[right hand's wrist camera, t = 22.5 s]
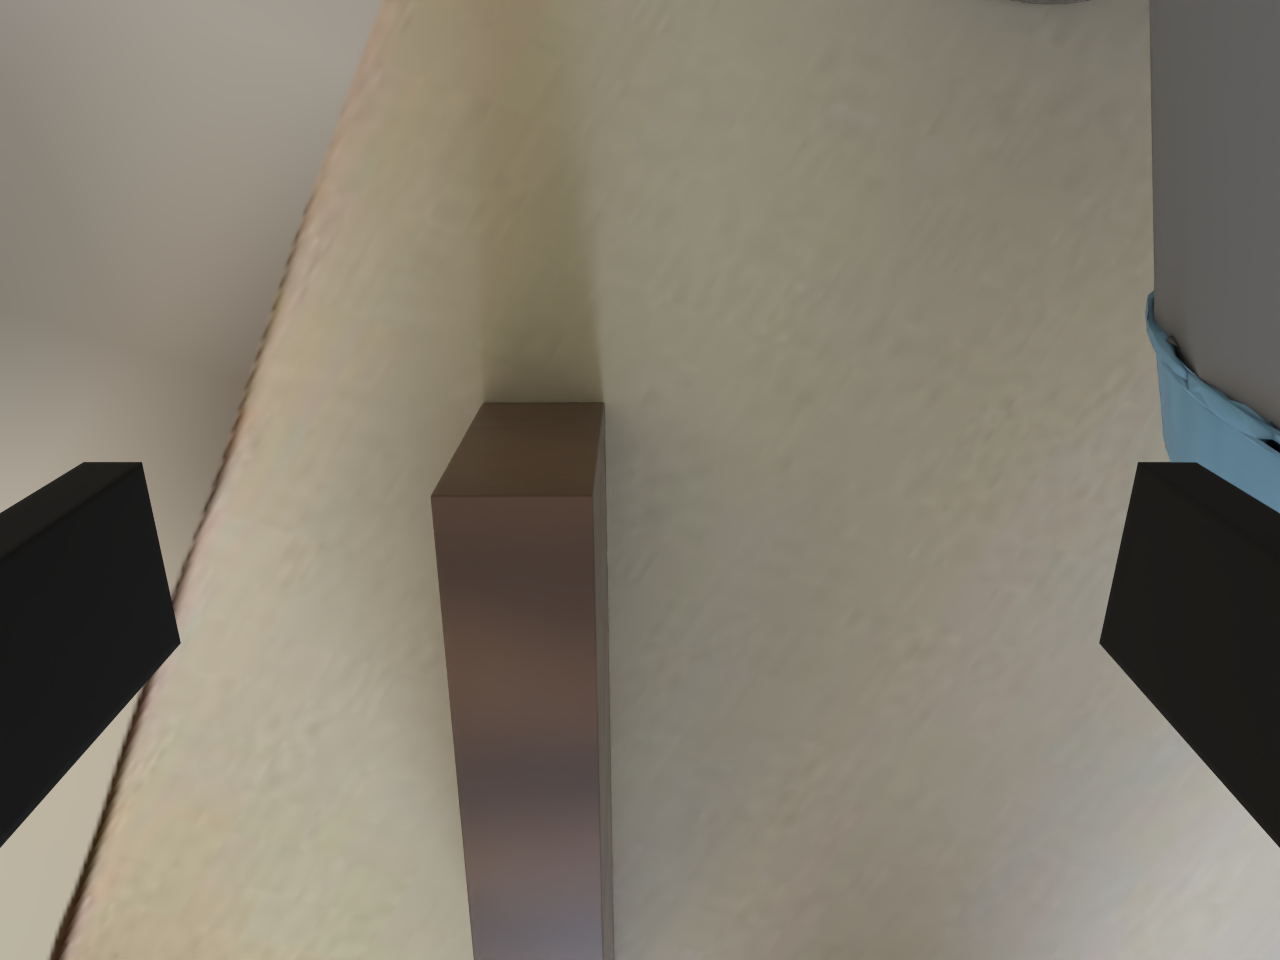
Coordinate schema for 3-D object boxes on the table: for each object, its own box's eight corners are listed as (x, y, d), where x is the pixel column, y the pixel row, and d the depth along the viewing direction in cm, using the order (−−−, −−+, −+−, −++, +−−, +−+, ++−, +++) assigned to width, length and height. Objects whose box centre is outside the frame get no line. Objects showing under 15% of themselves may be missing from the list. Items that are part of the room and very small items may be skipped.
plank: (482, 402, 37) (430, 495, 28) (604, 402, 37) (593, 495, 28) (523, 1002, 50) (496, 1205, 40) (614, 1001, 50) (609, 1205, 40)
